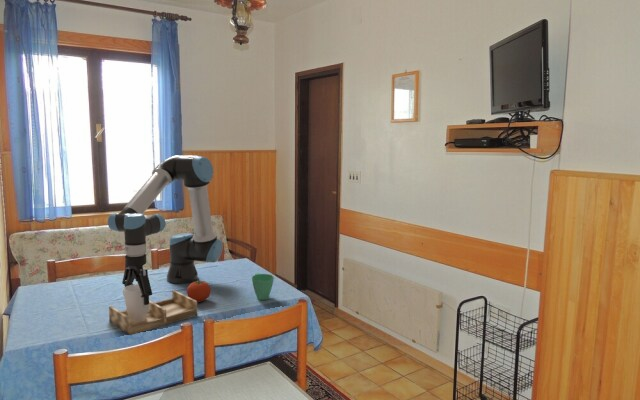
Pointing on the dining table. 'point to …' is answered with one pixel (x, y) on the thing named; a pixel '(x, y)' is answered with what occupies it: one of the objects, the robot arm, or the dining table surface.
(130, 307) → the foam cup
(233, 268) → the dining table surface
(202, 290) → the tomato
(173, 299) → the rack
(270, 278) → the mug
